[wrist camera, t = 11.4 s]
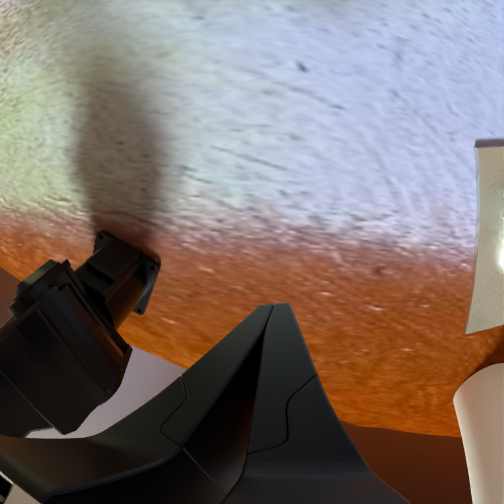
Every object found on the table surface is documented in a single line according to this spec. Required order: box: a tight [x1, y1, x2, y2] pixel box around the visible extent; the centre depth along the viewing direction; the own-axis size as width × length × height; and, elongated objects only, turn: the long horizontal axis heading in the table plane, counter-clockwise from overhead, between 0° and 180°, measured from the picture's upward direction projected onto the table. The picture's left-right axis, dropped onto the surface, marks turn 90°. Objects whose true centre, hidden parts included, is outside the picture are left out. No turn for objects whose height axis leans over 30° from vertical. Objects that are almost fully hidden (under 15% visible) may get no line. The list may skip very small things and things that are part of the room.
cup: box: [453, 363, 504, 504], centre depth 18 cm, size 8×8×16 cm
